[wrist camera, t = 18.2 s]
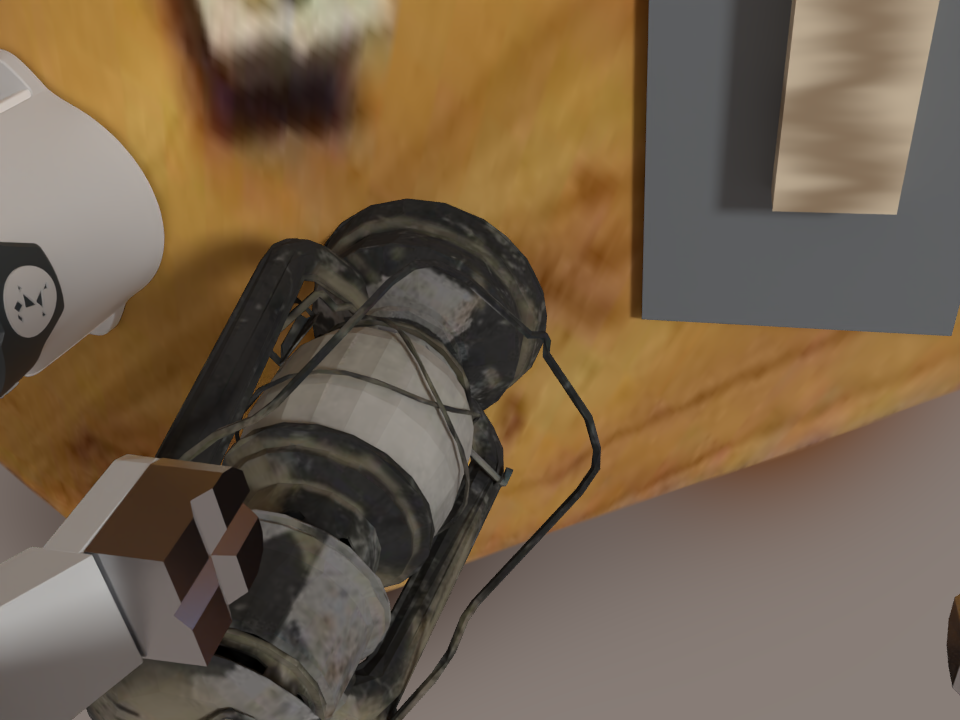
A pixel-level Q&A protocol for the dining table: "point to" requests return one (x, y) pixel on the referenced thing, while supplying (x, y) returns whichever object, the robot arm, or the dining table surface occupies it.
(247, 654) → the lantern
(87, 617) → the robot arm
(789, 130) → the wooden block
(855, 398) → the dining table surface
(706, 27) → the mat
